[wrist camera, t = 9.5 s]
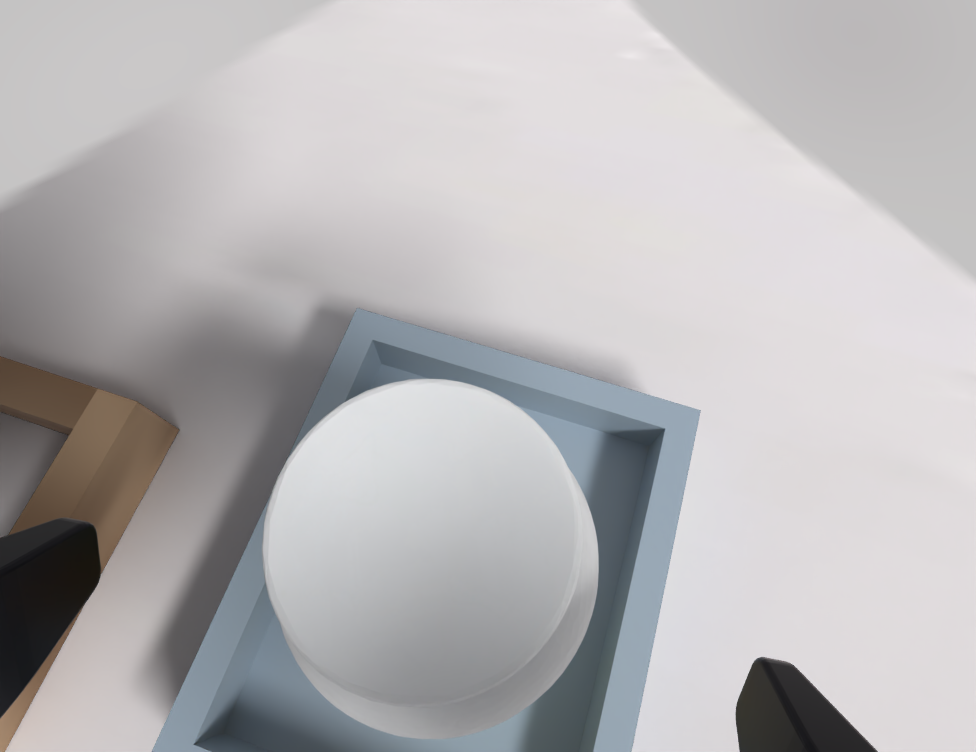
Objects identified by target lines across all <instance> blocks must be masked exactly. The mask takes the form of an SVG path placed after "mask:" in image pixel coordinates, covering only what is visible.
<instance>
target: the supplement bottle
mask: <svg viewBox="0 0 976 752" xmlns="http://www.w3.org/2000/svg"><path fill="white" fill-rule="evenodd" d="M262 560H263V570H264V577H265V583H266V587H267V591H268V596H269V599H270V601H271V604H272V607H273V609H274V612H275V614H276V616H277V618H278V620H279V622H280V625H281V628H282V631H283V635H284V637H285V640H286V642H287V644H288V646H289V648H290V650H291V652H292V654H293V656H294V658H295V660H296V662H297V664H298V665H299V667H300V668H301V670H302V671H303V673H304V674H305V675H306V677H307V678H308V679H309V681H310V682H311V683H312V684H313V686H314V687H315V688H316V689H317V690H318V691H319V692H320V693H321V694H322V695H323V696H324V697H325V698H326V699H327V700H328V701H329V702H330V703H331V704H333V705H334V706H335V707H336V708H338V709H339V710H341V711H342V712H344V713H345V714H346V715H348V716H350V717H351V718H353V719H355V720H357V721H359V722H361V723H363V724H365V725H367V726H369V727H371V728H374V729H376V730H379V731H382V732H386V733H389V734H392V735H396V736H400V737H407V738H415V739H448V738H455V737H461V736H466V735H470V734H474V733H477V732H480V731H483V730H486V729H489V728H491V727H493V726H496V725H498V724H500V723H502V722H504V721H506V720H508V719H510V718H511V717H513V716H514V715H516V714H518V713H519V712H521V711H522V710H523V709H525V708H526V707H528V706H529V705H531V704H532V703H533V702H535V701H536V700H537V699H538V698H539V697H540V696H541V695H542V694H544V693H545V692H546V691H547V690H548V689H549V688H550V687H551V686H552V685H553V684H554V683H555V682H556V680H557V679H558V678H559V677H560V676H561V675H562V673H563V672H564V671H565V669H566V668H567V666H568V665H569V663H570V662H571V660H572V659H573V657H574V656H575V654H576V652H577V650H578V648H579V646H580V644H581V642H582V640H583V638H584V636H585V634H586V631H587V628H588V625H589V622H590V619H591V617H592V613H593V609H594V605H595V601H596V596H597V589H598V574H599V557H598V542H597V536H596V530H595V526H594V523H593V519H592V515H591V512H590V509H589V506H588V504H587V501H586V498H585V496H584V494H583V492H582V490H581V488H580V486H579V484H578V482H577V480H576V479H575V477H574V475H573V474H572V472H571V471H570V469H569V468H568V466H567V464H566V462H565V460H564V458H563V456H562V455H561V453H560V451H559V449H558V447H557V446H556V445H555V443H554V442H553V441H552V440H551V438H550V437H549V436H548V435H547V433H546V432H545V431H544V430H543V429H542V428H541V427H540V426H539V425H538V424H537V423H536V421H535V420H533V419H532V418H531V417H530V416H529V415H528V414H527V413H525V412H524V411H523V410H522V409H521V408H519V407H518V406H516V405H515V404H513V403H512V402H510V401H509V400H507V399H505V398H503V397H501V396H499V395H497V394H495V393H493V392H491V391H488V390H486V389H483V388H480V387H477V386H474V385H471V384H467V383H463V382H458V381H452V380H447V379H409V380H405V381H399V382H394V383H389V384H386V385H382V386H379V387H376V388H373V389H370V390H368V391H365V392H363V393H361V394H359V395H357V396H355V397H353V398H351V399H349V400H348V401H346V402H344V403H343V404H341V405H339V406H338V407H337V408H335V409H334V410H333V411H331V412H330V413H329V414H327V415H326V416H325V417H324V418H322V419H321V420H320V421H319V422H318V423H317V424H316V425H315V426H314V427H313V428H312V429H311V430H310V431H309V432H308V433H307V434H306V435H305V437H304V438H303V439H302V440H301V441H300V442H299V444H298V445H297V446H296V448H295V449H294V450H293V452H292V453H291V455H290V456H289V458H288V459H287V461H286V463H285V465H284V467H283V469H282V471H281V472H280V474H279V476H278V478H277V480H276V483H275V485H274V487H273V490H272V493H271V497H270V500H269V503H268V507H267V511H266V515H265V521H264V530H263V541H262Z"/></svg>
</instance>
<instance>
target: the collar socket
mask: <svg viewBox="0 0 976 752" xmlns="http://www.w3.org/2000/svg"><path fill="white" fill-rule="evenodd" d="M0 412H3V413H5V414H8V415H11V416H14V417H17V418H20V419H23V420H26V421H29V422H32V423H35V424H38V425H41V426H43V427H46V428H49V429H52V430H55V431H58V432H61V433H64V434H67V435H69V437H68V438H67V440H66V441H65V443H64V445H63V446H62V448H61V450H60V451H59V453H58V455H57V456H56V458H55V459H54V461H53V463H52V464H51V466H50V468H49V469H48V471H47V473H46V474H45V476H44V477H43V479H42V481H41V482H40V484H39V486H38V487H37V489H36V490H35V492H34V494H33V495H32V497H31V499H30V500H29V502H28V504H27V505H26V507H25V508H24V510H23V512H22V513H21V515H20V517H19V518H18V520H17V521H16V523H15V525H14V526H13V528H12V530H11V531H10V533H9V535H10V534H13V533H16V532H19V531H22V530H25V529H28V528H31V527H34V526H37V525H40V524H42V523H45V522H48V521H51V520H54V519H57V518H63V517H64V518H72V519H77V520H82V521H87V522H90V523H92V524H93V525H94V527H95V528H96V531H97V537H98V545H99V554H100V562H101V573H102V571H103V569H104V568H105V566H106V564H107V562H108V560H109V558H110V557H111V555H112V553H113V551H114V549H115V547H116V546H117V544H118V542H119V540H120V538H121V536H122V534H123V533H124V531H125V529H126V527H127V525H128V523H129V522H130V520H131V518H132V516H133V514H134V512H135V510H136V509H137V507H138V505H139V503H140V501H141V499H142V498H143V496H144V494H145V492H146V490H147V488H148V487H149V485H150V483H151V481H152V479H153V477H154V475H155V474H156V472H157V470H158V468H159V466H160V464H161V463H162V461H163V459H164V457H165V455H166V453H167V452H168V450H169V448H170V446H171V444H172V442H173V440H174V439H175V437H176V435H177V433H178V431H179V429H177V428H176V427H174V426H173V425H171V424H170V423H168V422H167V421H166V420H164V419H163V418H161V417H160V416H158V415H157V414H155V413H154V412H152V411H151V410H149V409H148V408H146V407H145V406H143V405H142V404H140V403H139V402H137V401H134V400H131V399H128V398H125V397H122V396H119V395H116V394H113V393H110V392H107V391H104V390H101V389H98V388H95V387H92V386H89V385H86V384H83V383H79V382H76V381H73V380H70V379H67V378H64V377H61V376H58V375H55V374H52V373H49V372H46V371H43V370H40V369H37V368H34V367H31V366H28V365H25V364H22V363H19V362H16V361H13V360H10V359H7V358H4V357H1V356H0ZM82 608H83V607H82ZM82 608H81V610H82ZM81 610H80V611H79V613H78V614H77V616H76V617H75V618H74V620H73V621H72V623H71V624H70V626H69V627H68V628H67V630H66V631H65V633H64V634H63V636H62V637H61V638H60V640H59V641H58V643H57V644H56V646H55V647H54V648H53V650H52V651H51V653H50V654H49V656H48V657H47V658H46V660H45V661H44V663H43V664H42V666H41V667H40V668H39V670H38V671H37V673H36V674H35V676H34V677H33V678H32V680H31V681H30V682H29V684H28V685H27V686H26V688H25V689H24V690H23V692H22V693H21V694H20V695H19V697H18V698H17V699H16V700H15V702H14V703H13V704H12V705H11V707H10V708H9V709H8V710H7V712H6V713H5V714H4V715H3V716H2V718H1V719H0V752H5V750H6V748H7V746H8V745H9V743H10V741H11V739H12V737H13V735H14V734H15V732H16V730H17V728H18V726H19V724H20V722H21V721H22V719H23V717H24V715H25V713H26V711H27V710H28V708H29V706H30V704H31V702H32V700H33V699H34V697H35V695H36V693H37V691H38V689H39V687H40V686H41V684H42V682H43V680H44V678H45V676H46V675H47V673H48V671H49V669H50V667H51V665H52V663H53V662H54V660H55V658H56V656H57V654H58V652H59V651H60V649H61V647H62V645H63V643H64V641H65V640H66V638H67V636H68V634H69V632H70V630H71V628H72V627H73V625H74V623H75V621H76V619H77V617H78V616H79V614H80V612H81Z"/></svg>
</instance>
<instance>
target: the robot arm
mask: <svg viewBox="0 0 976 752" xmlns="http://www.w3.org/2000/svg"><path fill="white" fill-rule="evenodd" d="M100 576H101V562H100V554H99V545H98V537H97V531H96V528H95V527H94V525H93V524H92V523H90V522H87V521H82V520H77V519H72V518H64V517H63V518H57V519H54V520H51V521H48V522H45V523H42V524H40V525H37V526H34V527H31V528H28V529H25V530H22V531H19V532H16V533H13V534H10V535H7V536H4V537H1V538H0V719H1V718H2V716H3V715H4V714H5V713H6V712H7V710H8V709H9V708H10V707H11V705H12V704H13V703H14V702H15V700H16V699H17V698H18V697H19V695H20V694H21V693H22V692H23V690H24V689H25V688H26V686H27V685H28V684H29V682H30V681H31V680H32V678H33V677H34V676H35V674H36V673H37V671H38V670H39V668H40V667H41V666H42V664H43V663H44V661H45V660H46V658H47V657H48V656H49V654H50V653H51V651H52V650H53V648H54V647H55V646H56V644H57V643H58V641H59V640H60V638H61V637H62V636H63V634H64V633H65V631H66V630H67V628H68V627H69V626H70V624H71V623H72V621H73V620H74V618H75V617H76V616H77V614H78V613H79V611H80V610H81V608H82V607H83V606H84V604H85V603H86V601H87V600H88V598H89V597H90V596H91V594H92V593H93V591H94V590H95V588H96V586H97V584H98V582H99V579H100ZM736 726H737V734H738V742H739V749H740V752H878V751H877V750H876V749H875V748H874V747H873V746H872V745H871V744H870V743H869V742H868V741H867V740H866V739H865V738H864V737H863V736H862V735H861V734H860V733H859V732H858V731H857V730H856V729H855V728H854V727H853V726H852V725H851V724H850V722H849V721H848V720H847V719H846V718H845V717H844V716H843V715H842V714H841V713H840V712H839V711H838V710H837V709H836V708H835V707H834V706H833V705H832V704H831V703H830V702H829V701H828V700H827V699H826V698H825V697H824V696H823V695H822V694H821V693H820V692H819V691H818V690H817V688H816V687H815V686H814V685H813V684H812V683H811V682H810V681H809V680H808V679H807V678H806V677H805V676H804V675H803V674H802V673H801V672H800V671H799V670H798V669H797V668H796V667H795V666H794V665H792V664H791V663H788V662H786V661H781V660H776V659H771V658H766V657H760V658H757V659H756V660H755V661H754V663H753V664H752V667H751V669H750V672H749V674H748V676H747V679H746V681H745V684H744V686H743V689H742V691H741V694H740V696H739V699H738V702H737V706H736Z"/></svg>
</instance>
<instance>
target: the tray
mask: <svg viewBox="0 0 976 752" xmlns="http://www.w3.org/2000/svg"><path fill="white" fill-rule="evenodd" d="M409 379H447V380H452V381H458V382H463V383H467V384H471V385H474V386H477V387H480V388H483V389H486V390H488V391H491V392H493V393H495V394H497V395H499V396H501V397H503V398H505V399H507V400H509V401H510V402H512V403H513V404H515V405H516V406H518V407H519V408H521V409H522V410H523V411H524V412H525V413H527V414H528V415H529V416H530V417H531V418H532V419H533V420H535V421H536V423H537V424H538V425H539V426H540V427H541V428H542V429H543V430H544V431H545V432H546V433H547V435H548V436H549V437H550V438H551V440H552V441H553V442H554V443H555V445H556V446H557V447H558V449H559V451H560V453H561V455H562V456H563V458H564V460H565V462H566V464H567V466H568V468H569V469H570V471H571V472H572V474H573V475H574V477H575V479H576V480H577V482H578V484H579V486H580V488H581V490H582V492H583V494H584V496H585V498H586V501H587V504H588V506H589V509H590V512H591V515H592V519H593V523H594V526H595V530H596V536H597V542H598V557H599V574H598V589H597V596H596V601H595V605H594V609H593V613H592V617H591V619H590V622H589V625H588V628H587V631H586V634H585V636H584V638H583V640H582V642H581V644H580V646H579V648H578V650H577V652H576V654H575V656H574V657H573V659H572V660H571V662H570V663H569V665H568V666H567V668H566V669H565V671H564V672H563V673H562V675H561V676H560V677H559V678H558V679H557V680H556V682H555V683H554V684H553V685H552V686H551V687H550V688H549V689H548V690H547V691H546V692H545V693H544V694H542V695H541V696H540V697H539V698H538V699H537V700H536V701H535V702H533V703H532V704H531V705H529V706H528V707H526V708H525V709H523V710H522V711H521V712H519V713H518V714H516V715H514V716H513V717H511V718H510V719H508V720H506V721H504V722H502V723H500V724H498V725H496V726H493V727H491V728H489V729H486V730H483V731H480V732H477V733H474V734H470V735H466V736H461V737H455V738H448V739H415V738H407V737H400V736H396V735H392V734H389V733H386V732H382V731H379V730H376V729H374V728H371V727H369V726H367V725H365V724H363V723H361V722H359V721H357V720H355V719H353V718H351V717H350V716H348V715H346V714H345V713H344V712H342V711H341V710H339V709H338V708H336V707H335V706H334V705H333V704H331V703H330V702H329V701H328V700H327V699H326V698H325V697H324V696H323V695H322V694H321V693H320V692H319V691H318V690H317V689H316V688H315V687H314V686H313V684H312V683H311V682H310V681H309V679H308V678H307V677H306V675H305V674H304V673H303V671H302V670H301V668H300V667H299V665H298V664H297V662H296V660H295V658H294V656H293V654H292V652H291V650H290V648H289V646H288V644H287V642H286V640H285V637H284V635H283V631H282V628H281V625H280V622H279V620H278V618H277V616H276V614H275V612H274V609H273V607H272V604H271V601H270V599H269V596H268V591H267V587H266V583H265V577H264V570H263V560H262V541H263V530H264V521H265V515H266V511H267V507H268V503H269V500H270V497H271V495H270V497H269V499H268V501H267V504H266V506H265V508H264V510H263V512H262V514H261V517H260V519H259V521H258V523H257V525H256V527H255V529H254V532H253V534H252V536H251V538H250V540H249V542H248V545H247V547H246V549H245V551H244V553H243V555H242V558H241V560H240V562H239V564H238V566H237V568H236V571H235V573H234V575H233V577H232V579H231V581H230V583H229V586H228V588H227V590H226V592H225V594H224V596H223V599H222V601H221V603H220V605H219V607H218V609H217V612H216V614H215V616H214V618H213V620H212V622H211V625H210V627H209V629H208V631H207V633H206V635H205V638H204V640H203V642H202V644H201V646H200V648H199V650H198V653H197V655H196V657H195V659H194V661H193V663H192V666H191V668H190V670H189V672H188V674H187V676H186V679H185V681H184V683H183V685H182V687H181V689H180V692H179V694H178V696H177V698H176V700H175V702H174V704H173V707H172V709H171V711H170V713H169V715H168V717H167V720H166V722H165V724H164V726H163V728H162V730H161V733H160V735H159V737H158V739H157V741H156V743H155V746H154V748H153V750H152V752H631V751H632V746H633V741H634V736H635V731H636V726H637V721H638V717H639V712H640V707H641V702H642V697H643V692H644V687H645V682H646V677H647V672H648V667H649V662H650V657H651V653H652V648H653V643H654V638H655V633H656V628H657V623H658V618H659V613H660V608H661V603H662V598H663V593H664V588H665V584H666V579H667V574H668V569H669V564H670V559H671V554H672V549H673V544H674V539H675V534H676V529H677V524H678V519H679V515H680V510H681V505H682V500H683V495H684V490H685V485H686V480H687V475H688V470H689V465H690V460H691V455H692V450H693V446H694V441H695V436H696V431H697V426H698V421H699V416H700V411H701V410H698V409H694V408H691V407H688V406H684V405H681V404H677V403H674V402H671V401H667V400H664V399H661V398H657V397H654V396H651V395H647V394H644V393H641V392H637V391H634V390H631V389H627V388H624V387H620V386H617V385H614V384H610V383H607V382H604V381H600V380H597V379H594V378H590V377H587V376H584V375H580V374H577V373H574V372H570V371H567V370H563V369H560V368H557V367H553V366H550V365H547V364H543V363H540V362H537V361H533V360H530V359H527V358H523V357H520V356H517V355H513V354H510V353H506V352H503V351H500V350H496V349H493V348H490V347H486V346H483V345H480V344H476V343H473V342H470V341H466V340H463V339H460V338H456V337H453V336H449V335H446V334H443V333H439V332H436V331H433V330H429V329H426V328H423V327H419V326H416V325H413V324H409V323H406V322H403V321H399V320H396V319H392V318H389V317H386V316H382V315H379V314H376V313H372V312H369V311H366V310H362V309H359V308H357V309H356V311H355V313H354V316H353V318H352V320H351V322H350V324H349V326H348V329H347V331H346V333H345V335H344V337H343V339H342V342H341V344H340V346H339V348H338V350H337V352H336V355H335V357H334V359H333V361H332V363H331V365H330V367H329V370H328V372H327V374H326V376H325V378H324V380H323V383H322V385H321V387H320V389H319V391H318V393H317V396H316V398H315V400H314V402H313V404H312V406H311V409H310V411H309V413H308V415H307V417H306V419H305V421H304V424H303V426H302V428H301V430H300V432H299V434H298V437H297V439H296V441H295V443H294V445H293V447H292V450H291V452H290V454H289V456H290V455H291V453H292V452H293V450H294V449H295V448H296V446H297V445H298V444H299V442H300V441H301V440H302V439H303V438H304V437H305V435H306V434H307V433H308V432H309V431H310V430H311V429H312V428H313V427H314V426H315V425H316V424H317V423H318V422H319V421H320V420H321V419H322V418H324V417H325V416H326V415H327V414H329V413H330V412H331V411H333V410H334V409H335V408H337V407H338V406H339V405H341V404H343V403H344V402H346V401H348V400H349V399H351V398H353V397H355V396H357V395H359V394H361V393H363V392H365V391H368V390H370V389H373V388H376V387H379V386H382V385H386V384H389V383H394V382H399V381H405V380H409ZM289 456H288V458H289ZM288 458H287V459H288ZM286 461H287V460H286Z"/></svg>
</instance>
